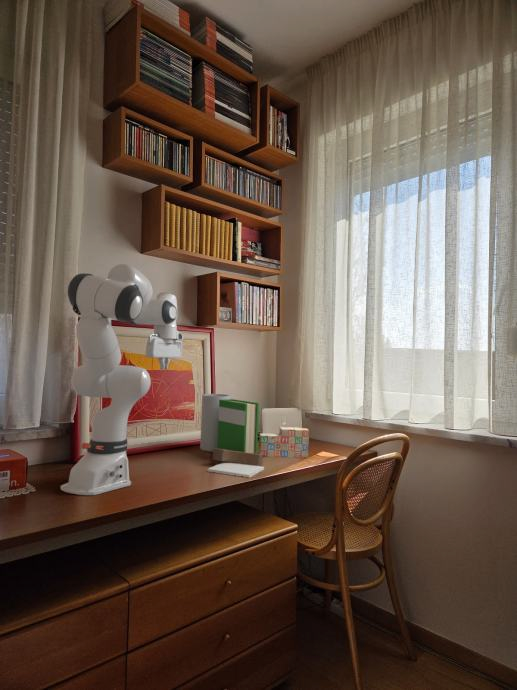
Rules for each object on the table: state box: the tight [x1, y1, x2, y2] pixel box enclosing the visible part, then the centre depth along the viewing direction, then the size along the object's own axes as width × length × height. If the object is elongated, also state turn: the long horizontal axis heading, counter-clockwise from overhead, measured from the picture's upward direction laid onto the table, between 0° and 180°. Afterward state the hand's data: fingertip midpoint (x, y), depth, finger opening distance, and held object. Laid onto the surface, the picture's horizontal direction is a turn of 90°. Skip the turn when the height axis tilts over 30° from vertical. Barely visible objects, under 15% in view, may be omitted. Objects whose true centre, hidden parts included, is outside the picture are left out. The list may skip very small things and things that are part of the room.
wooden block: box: [211, 448, 264, 466], centre depth 182 cm, size 9×4×18 cm
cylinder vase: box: [199, 393, 230, 453], centre depth 211 cm, size 12×12×25 cm
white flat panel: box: [207, 461, 265, 478], centre depth 174 cm, size 14×17×1 cm
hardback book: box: [218, 398, 260, 454], centre depth 197 cm, size 18×7×24 cm, turn 42°
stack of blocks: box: [258, 426, 310, 458], centre depth 204 cm, size 21×6×12 cm, turn 95°
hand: (163, 369), depth 182 cm, fingers closed
